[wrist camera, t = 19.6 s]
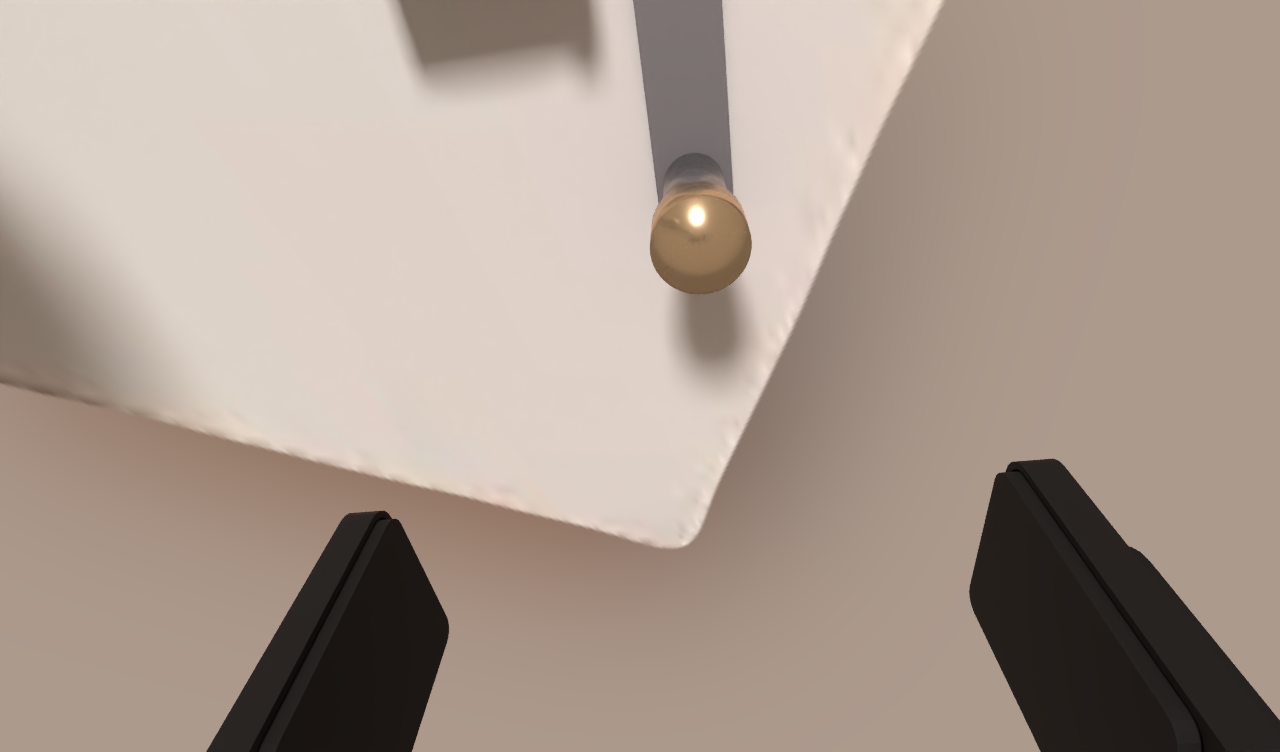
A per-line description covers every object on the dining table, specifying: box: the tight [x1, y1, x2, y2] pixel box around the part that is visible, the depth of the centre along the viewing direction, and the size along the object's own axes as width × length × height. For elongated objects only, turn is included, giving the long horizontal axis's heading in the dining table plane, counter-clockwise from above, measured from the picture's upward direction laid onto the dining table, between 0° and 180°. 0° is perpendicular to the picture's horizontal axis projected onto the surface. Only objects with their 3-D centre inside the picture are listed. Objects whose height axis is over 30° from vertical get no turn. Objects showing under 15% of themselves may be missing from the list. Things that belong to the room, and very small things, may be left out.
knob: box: [650, 153, 752, 294], centre depth 25 cm, size 4×4×8 cm
